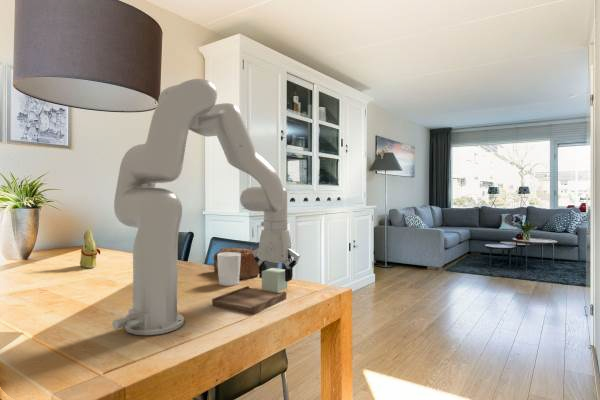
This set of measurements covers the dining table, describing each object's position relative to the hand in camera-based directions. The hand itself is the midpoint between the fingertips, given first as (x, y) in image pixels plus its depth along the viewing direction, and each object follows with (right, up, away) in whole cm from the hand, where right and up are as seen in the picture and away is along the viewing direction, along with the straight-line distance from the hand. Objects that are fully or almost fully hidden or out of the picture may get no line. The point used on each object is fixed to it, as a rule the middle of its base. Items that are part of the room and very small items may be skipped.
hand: (275, 278), depth 120 cm
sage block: (0, -3, 0) cm, 3 cm away
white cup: (-16, -3, +6) cm, 18 cm away
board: (-6, -3, -15) cm, 17 cm away
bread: (-16, -3, +21) cm, 27 cm away
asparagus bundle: (-77, -2, +30) cm, 83 cm away
